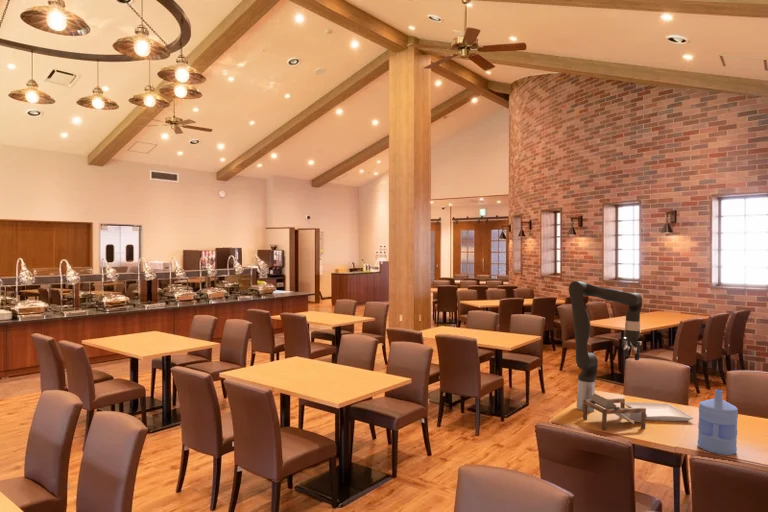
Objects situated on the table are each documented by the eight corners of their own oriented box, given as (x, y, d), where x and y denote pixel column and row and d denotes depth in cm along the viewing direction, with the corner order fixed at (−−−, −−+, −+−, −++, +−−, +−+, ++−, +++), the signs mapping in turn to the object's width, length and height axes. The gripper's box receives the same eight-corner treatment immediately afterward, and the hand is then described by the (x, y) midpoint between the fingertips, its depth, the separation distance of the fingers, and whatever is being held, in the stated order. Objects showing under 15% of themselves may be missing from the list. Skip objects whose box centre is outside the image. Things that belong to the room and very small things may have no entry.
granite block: (625, 407, 286) (640, 411, 288) (622, 416, 286) (638, 420, 288) (631, 410, 281) (647, 414, 283) (629, 419, 281) (644, 423, 283)
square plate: (694, 424, 285) (695, 417, 285) (644, 422, 286) (644, 415, 286) (668, 408, 312) (668, 402, 312) (622, 407, 313) (622, 401, 313)
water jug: (700, 440, 259) (702, 384, 259) (738, 448, 249) (740, 390, 249) (694, 449, 247) (696, 390, 247) (734, 458, 237) (736, 397, 237)
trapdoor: (605, 407, 273) (609, 400, 273) (589, 399, 287) (593, 393, 287) (632, 426, 276) (636, 419, 277) (615, 417, 290) (619, 411, 291)
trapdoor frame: (603, 430, 271) (604, 408, 270) (583, 418, 289) (583, 397, 289) (645, 428, 275) (646, 406, 275) (622, 416, 294) (623, 396, 293)
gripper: (618, 327, 294) (617, 355, 294) (635, 331, 280) (634, 361, 280) (629, 327, 295) (628, 355, 296) (647, 331, 281) (646, 361, 282)
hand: (631, 358), depth 288 cm, fingers open, 8 cm apart
